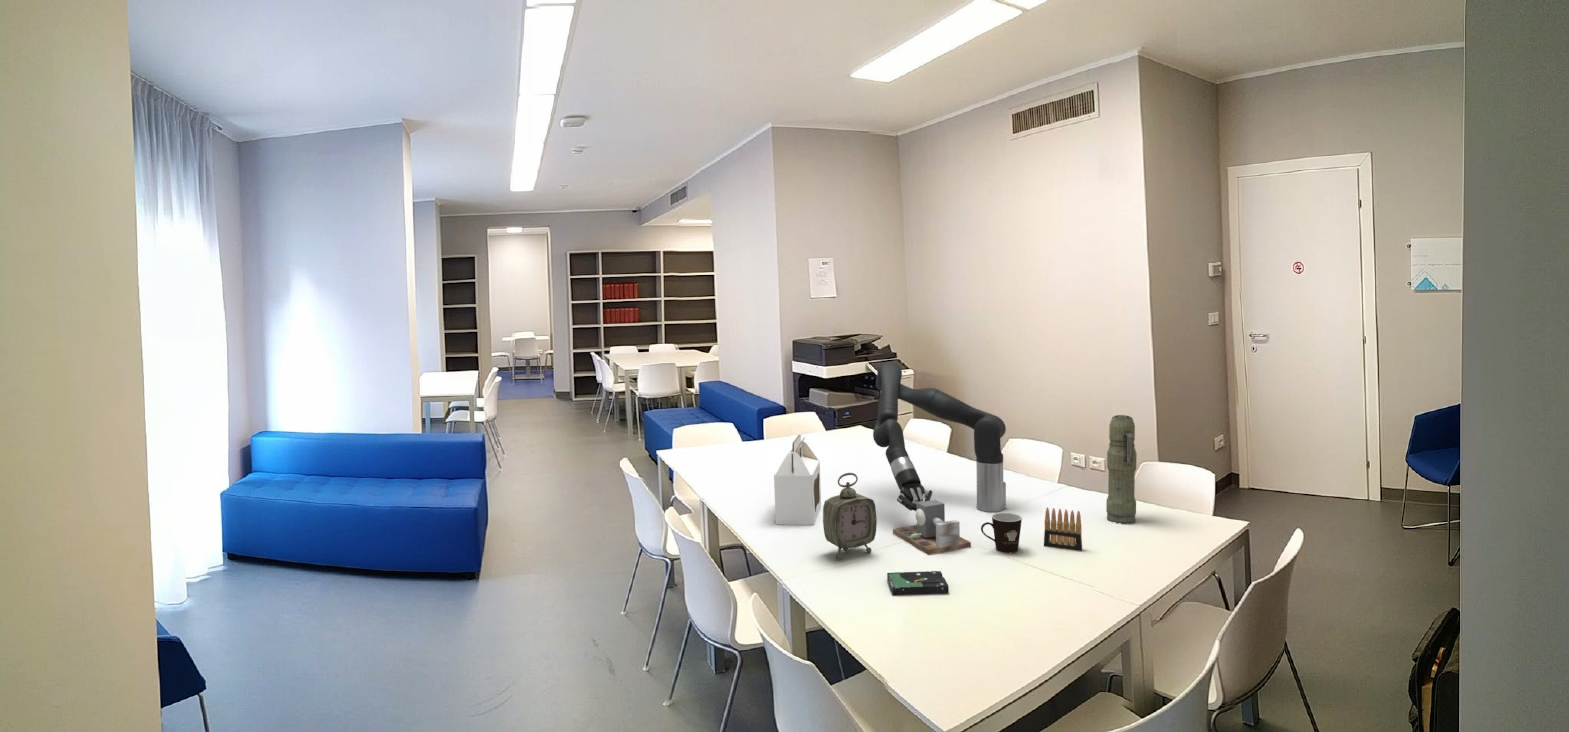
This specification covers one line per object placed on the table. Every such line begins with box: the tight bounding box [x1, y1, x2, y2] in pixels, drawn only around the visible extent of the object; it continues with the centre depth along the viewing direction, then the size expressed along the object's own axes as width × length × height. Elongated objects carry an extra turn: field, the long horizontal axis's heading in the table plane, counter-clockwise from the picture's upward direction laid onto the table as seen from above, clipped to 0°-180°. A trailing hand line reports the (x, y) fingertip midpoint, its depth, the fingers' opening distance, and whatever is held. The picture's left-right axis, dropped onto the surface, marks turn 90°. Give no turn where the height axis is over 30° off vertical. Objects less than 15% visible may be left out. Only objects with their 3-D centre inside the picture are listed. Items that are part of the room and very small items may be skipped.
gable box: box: [773, 434, 822, 526], centre depth 257 cm, size 22×13×28 cm, turn 170°
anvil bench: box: [892, 519, 972, 556], centre depth 228 cm, size 15×22×8 cm
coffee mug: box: [980, 512, 1023, 554], centre depth 218 cm, size 12×9×10 cm
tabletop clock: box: [822, 472, 878, 561], centre depth 217 cm, size 14×9×25 cm, turn 117°
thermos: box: [1105, 414, 1138, 525], centre depth 239 cm, size 9×12×35 cm
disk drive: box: [886, 570, 950, 596], centre depth 192 cm, size 10×3×15 cm
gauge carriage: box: [911, 499, 946, 538], centre depth 225 cm, size 10×8×10 cm
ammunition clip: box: [1043, 507, 1083, 552], centre depth 217 cm, size 11×2×12 cm, turn 61°
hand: (924, 519), depth 230 cm, fingers closed
